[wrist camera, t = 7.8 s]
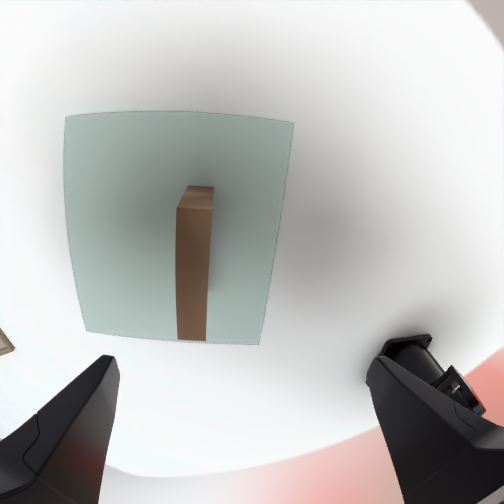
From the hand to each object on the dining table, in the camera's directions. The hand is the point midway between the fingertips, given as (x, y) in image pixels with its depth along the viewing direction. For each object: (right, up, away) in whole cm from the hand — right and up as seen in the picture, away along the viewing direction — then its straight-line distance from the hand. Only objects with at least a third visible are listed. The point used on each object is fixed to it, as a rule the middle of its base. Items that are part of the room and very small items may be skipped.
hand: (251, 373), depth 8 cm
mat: (-5, +5, +9) cm, 11 cm away
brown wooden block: (-3, +5, +9) cm, 10 cm away
